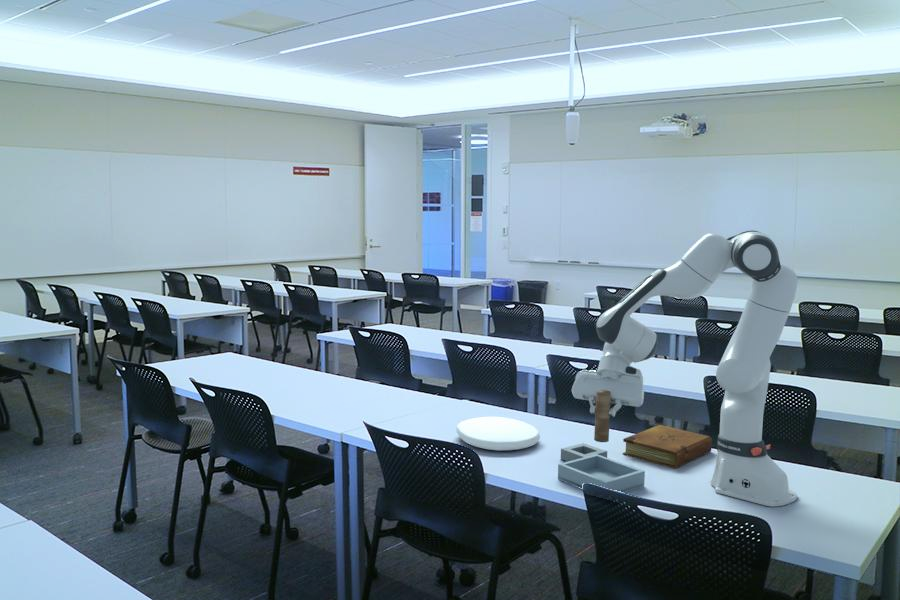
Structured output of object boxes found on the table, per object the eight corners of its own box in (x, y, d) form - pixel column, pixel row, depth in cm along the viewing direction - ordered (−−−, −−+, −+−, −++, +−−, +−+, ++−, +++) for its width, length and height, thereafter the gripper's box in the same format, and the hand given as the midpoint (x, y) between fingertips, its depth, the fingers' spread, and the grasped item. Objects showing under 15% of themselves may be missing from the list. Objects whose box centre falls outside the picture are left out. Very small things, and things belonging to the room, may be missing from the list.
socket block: (606, 462, 226) (607, 451, 226) (584, 468, 220) (584, 457, 220) (583, 453, 234) (583, 443, 234) (560, 459, 228) (560, 448, 228)
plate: (555, 429, 244) (499, 446, 227) (553, 448, 246) (497, 465, 228) (496, 404, 265) (441, 417, 247) (495, 421, 266) (439, 436, 248)
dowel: (611, 440, 207) (613, 392, 205) (601, 443, 204) (604, 394, 203) (600, 437, 210) (602, 389, 208) (591, 439, 208) (593, 391, 206)
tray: (644, 486, 206) (644, 471, 205) (605, 498, 197) (605, 482, 196) (596, 468, 220) (596, 454, 220) (557, 479, 211) (558, 464, 210)
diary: (676, 471, 221) (677, 452, 220) (622, 456, 234) (623, 438, 233) (711, 453, 237) (712, 436, 237) (658, 440, 250) (659, 424, 250)
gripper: (575, 363, 216) (564, 403, 208) (646, 371, 206) (636, 412, 199) (579, 375, 220) (568, 414, 213) (648, 383, 211) (639, 424, 203)
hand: (602, 413), depth 206 cm, fingers closed on dowel, 4 cm apart
